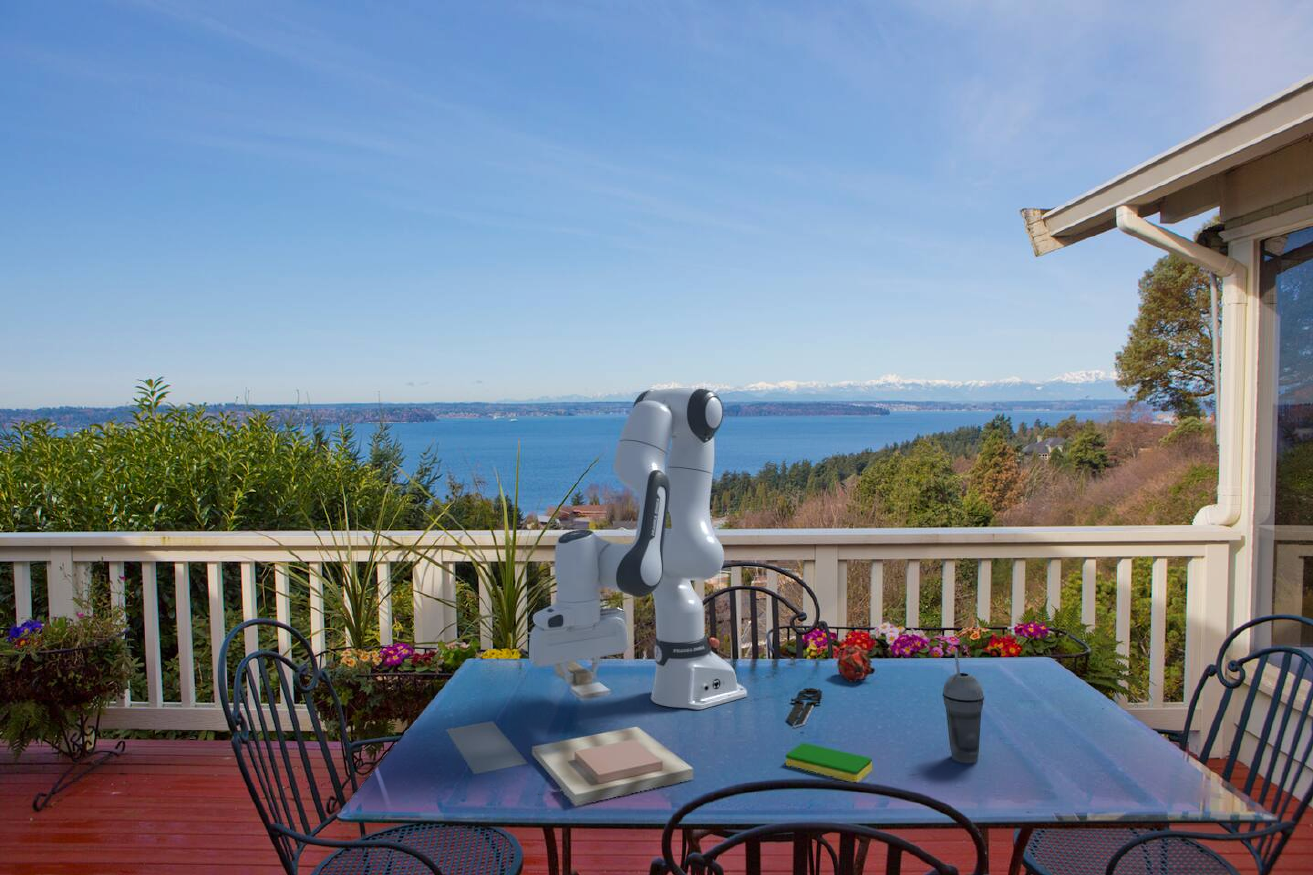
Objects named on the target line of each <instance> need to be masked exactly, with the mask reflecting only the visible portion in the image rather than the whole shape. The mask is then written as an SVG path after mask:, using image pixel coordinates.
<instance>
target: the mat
mask: <svg viewBox="0 0 1313 875" xmlns="http://www.w3.org/2000/svg"><path fill="white" fill-rule="evenodd" d="M445 731H446V733H447V735H448V737H449V738H450V739H451V741H452V742H453V744H454V746H455V747H456V749H457V750H458V751H459V753H460V754H461V756H462V758H463V759H464V761H465V762H466V764H467V766H468V768H470V770H471V772H472V773H473V775H478V774H485V773H488V772H493V771H498V770H503V769H504V770H505V769H508V768H513V767H518V766H523V765H528V764H529V763H528V761H527V760H526V759H525V758H524V757H523V755H522V754H521V753H520V752H519V751H518V750H517V748H516V747H515V746H514V745H513V743H512V742H511V741H510V740H509V739H508V738H507V736H506V735H505V734H504V733H503V732H502V730H501V729H500V728H499V727H498V726H497V725H496V723H495V722H494V721H493V720H491V721H485V722H481V723H474V724H468V725H464V726H457V727H451V728H446V729H445Z"/></svg>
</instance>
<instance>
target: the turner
mask: <svg viewBox="0 0 1313 875" xmlns="http://www.w3.org/2000/svg"><path fill="white" fill-rule="evenodd" d="M553 665H554V674H555V675H557V676H558V677H560V679H562V680H563V681H564V682H566V680H565V673H564V672H563V670H562V669H561V667H560V665H559V664H553ZM567 669H568V671H569V672H570V673H573V674H575V683H572V684H569V685H570V686H569V690H570V693H571V694H572V695H573V696H575V697H576V698H577V699H578V700H580V701H585V700H586V701H587V700H591V699H595V698H596V699H597V698H601V697H607V696H611V689H610V688H608V687H606V686H605V685H604V684H602V683H601V682H600V681H596V682H592V681H593V680H592V679H591V673H590V672H589V671H587V670H588V669H586V668H585V667H583V666H582V665H580V664H578V663H577V661H572V662H569V667H567Z"/></svg>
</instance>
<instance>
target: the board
mask: <svg viewBox="0 0 1313 875" xmlns="http://www.w3.org/2000/svg"><path fill="white" fill-rule="evenodd" d="M633 739H635V740H636V741H637V742H639V743H640V744H641V745H643V746H644V747H645V748H646V749H648V750H649V751H650V752H651V753H653V754H654V755H655V756H657V757H658V758H659V759H660V760H662V762H663V770H659V771H654V772H650V773H645V774H641V775H636V776H632V777H627V778H623V779H618V780H614V781H609V782H604V783H600V784H599V783H598V782H597V781H596V780H595V779H594V778H593V777H592V776H591V775H590V774H589V773H588V772H587V771H586V770H585V769H584V768H583V767H582V766H581V765H580V764H579V763H578V762H577V761H576V760H575V752H574V751H578V750H583V749H588V748H593V747H598V746H603V745H608V744H613V743H618V742H623V741H628V740H633ZM531 755H532V756H533V757H534V758H535V760H536V761H537V762H538V763H539V764H540V765H541V767H543V768H544V769H545V770H546V772H547V773H548V774H549V776H550V777H551V778H552V779H553V780H554V781H555V782H556V784H558V786H559V788H560V789H561V790H562V791H563V792H564V793H563V792H562V791H561V790H560V789H559V790H560V791H561V792H562V793H563V794H564V796H565V797H566V796H567V797H569V799H570V800H571V801H572V802H573V803H574V804H575V805H581V804H584V803H589V802H593V801H598V800H602V799H605V798H610V797H616V798H618V797H617V796H621V797H623V796H622V795H625V796H628V795H627V794H629V795H632V794H631V793H634V794H636V793H635V792H638V793H641V792H640V791H642V792H645V791H644V790H647V791H650V790H649V789H651V790H653V789H652V788H655V789H658V788H657V787H660V788H662V787H661V786H664V787H667V786H672V785H676V784H681V783H680V782H682V783H686V782H690V781H693V780H694V768H693V767H692V766H690V764H688V763H686V761H684V760H683V759H681V758H680V757H679V756H677V754H675V753H673V752H672V751H671V750H669V749H668V748H666V747H665V746H664V745H662V744H661V743H660V742H659V741H657V740H656V739H654V738H653V737H652V736H651V735H649V734H648V733H646V732H645V731H644V730H642V729H641V728H639V726H634V727H628V728H623V729H616V730H612V731H607V732H602V733H598V734H591V735H587V736H581V737H577V738H576V737H575V738H570V739H565V740H560V741H555V742H548V743H544V744H539V745H534V746H531ZM689 780H690V781H689ZM685 781H686V782H685ZM567 797H566V798H567ZM569 799H568V800H569ZM570 800H569V801H570ZM571 801H570V802H571ZM572 802H571V803H572Z"/></svg>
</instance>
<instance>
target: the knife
mask: <svg viewBox="0 0 1313 875" xmlns="http://www.w3.org/2000/svg"><path fill="white" fill-rule="evenodd" d="M808 695H810V696H808ZM822 695H823V691H822V690H821V689H820V688H819V689H816V688H814V687H808V688H807V687H806V688H803V690H800V691H798V693H797V699H796V698H791V700H790V701H791V704H794V705H793V708H792V709H791V711H790V712H789V714H788V716H787V717H786V721H787V722H788V723H790V724H791V725H792V726H793V728H794V729H796V728H799V727H801V726H805V724H806V722H807V720H808V718H809V717H810V714H811V713H812V711H813V709H814V707H816V706H819V707H820V706H821V700H822ZM803 697H804V700H806V701H807V700H810V701H807V702H806V704H805V702H804V701H803V700H802V699H803Z"/></svg>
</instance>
